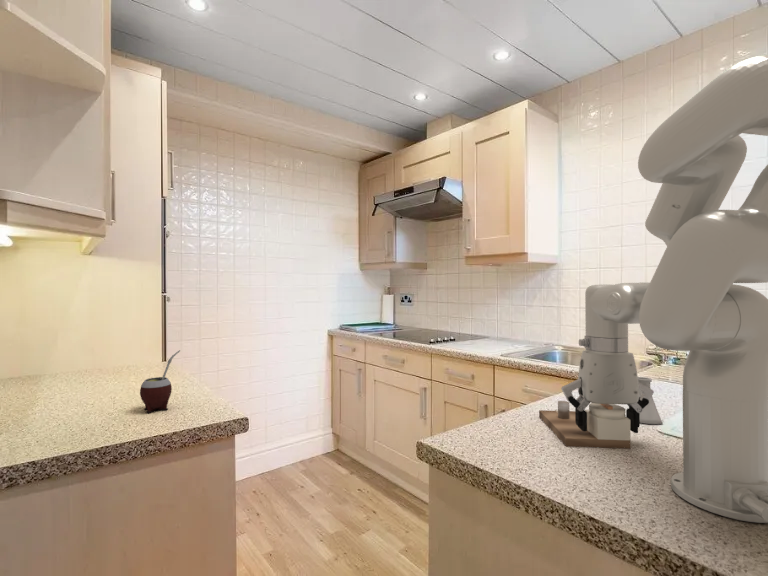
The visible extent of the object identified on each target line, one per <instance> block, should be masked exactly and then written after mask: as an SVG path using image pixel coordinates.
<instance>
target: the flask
mask: <svg viewBox="0 0 768 576" xmlns="http://www.w3.org/2000/svg"><path fill="white" fill-rule="evenodd" d="M638 383H640V384H642V385H644V386H646V387H648V388H650V389H652V388H651V383H652V378H650V377H646V376H638ZM641 394H642V392H641V391H640V390H639V397H641ZM640 423H641V424H647V425H648V424H649V425H660V424H661V425H663V424H664V423H663V421H662V418H661V416H660V414H659V410H658V408H657V405H656V403H655V400H654V397H653V396H652V397H651V399H650V400H649V404H648V405H647V406H645V407H644V408H643V411H642V412H641V413H640Z"/></svg>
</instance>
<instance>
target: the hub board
mask: <svg viewBox="0 0 768 576" xmlns="http://www.w3.org/2000/svg"><path fill="white" fill-rule="evenodd" d="M538 416H539V418H540V420H542V422H543V421H544V424H545V425H546V426H547V427H548V429H549V430H551V432H553V433H554V435H555V436H556V437H557V438H558V439H559V440H560V441H561V442H562V443H563V445H564V446H565V447H571V448H572V447H573V448H597V447H599V448H603V449H605V448H606V449H631V448H632V447H631V446H632V445H631V443H632V442H631V440H602V439H597V438H596V437H595V436H594V435H592V434H591V433H590V432H589V431H588V430H587V431H582V430H581V429H580V428H579V427H578V425H576V422H575V410H571V411H570V402H569V401H568V400H558V401H557V409H554V410H541V409H540V410H539V411H538Z"/></svg>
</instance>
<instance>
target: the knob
mask: <svg viewBox="0 0 768 576" xmlns="http://www.w3.org/2000/svg"><path fill="white" fill-rule="evenodd" d="M585 411H586V412H587V430H588V431H589V432H590V433H591V434H592V435H594V436H595V437H596V438H597V439H602V440H631V439H632V438H631V430H630V419H628V418H627V417H626V408H625V407H624V406H621V405H620V404H595V403H591V402H590V404H589V405H588V409H585Z"/></svg>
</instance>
